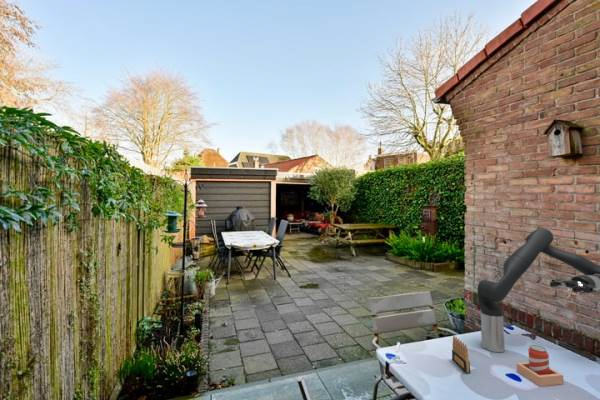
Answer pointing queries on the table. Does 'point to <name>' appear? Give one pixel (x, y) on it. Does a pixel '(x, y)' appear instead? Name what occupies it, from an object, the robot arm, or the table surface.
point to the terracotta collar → (540, 380)
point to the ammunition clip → (460, 355)
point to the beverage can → (538, 360)
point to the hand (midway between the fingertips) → (561, 287)
